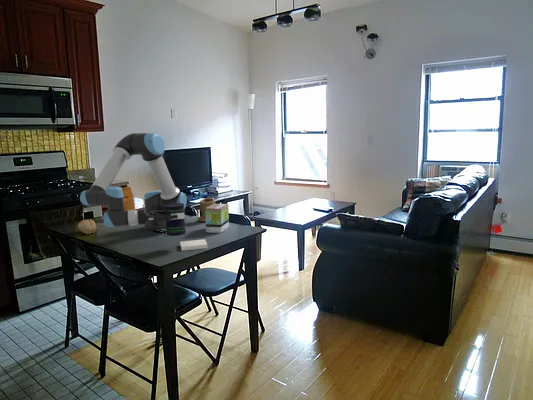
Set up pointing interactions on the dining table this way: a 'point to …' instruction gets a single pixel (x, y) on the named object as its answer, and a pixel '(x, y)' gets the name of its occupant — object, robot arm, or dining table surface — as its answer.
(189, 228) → the dining table surface
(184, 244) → the tile
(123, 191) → the coffee package
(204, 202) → the stone cup
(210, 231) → the tea box
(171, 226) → the storage jar
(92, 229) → the bread roll
